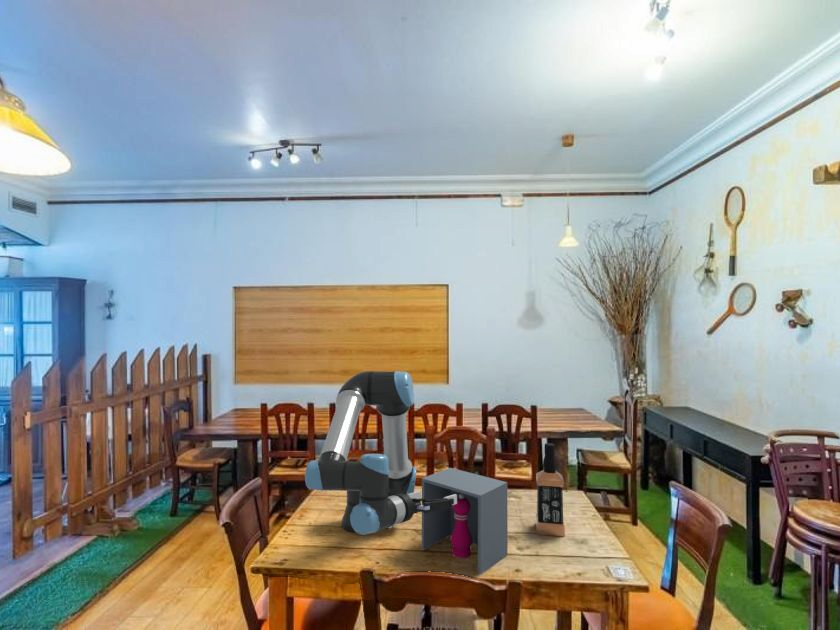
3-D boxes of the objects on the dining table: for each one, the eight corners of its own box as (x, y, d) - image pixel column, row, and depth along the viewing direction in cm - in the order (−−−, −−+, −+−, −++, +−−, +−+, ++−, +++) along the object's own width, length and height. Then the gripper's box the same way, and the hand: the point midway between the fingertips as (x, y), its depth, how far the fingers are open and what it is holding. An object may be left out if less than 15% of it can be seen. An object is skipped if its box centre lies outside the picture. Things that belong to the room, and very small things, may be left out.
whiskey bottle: (565, 537, 165) (564, 448, 166) (537, 534, 167) (536, 446, 168) (562, 524, 175) (561, 441, 176) (535, 522, 177) (535, 439, 178)
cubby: (421, 549, 155) (421, 478, 156) (450, 533, 167) (450, 467, 168) (480, 574, 139) (480, 495, 140) (507, 555, 151) (507, 482, 152)
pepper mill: (454, 560, 148) (455, 498, 148) (447, 550, 155) (447, 490, 155) (475, 557, 150) (475, 496, 150) (467, 547, 157) (467, 488, 157)
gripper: (363, 519, 134) (406, 506, 151) (433, 529, 120) (472, 513, 137) (363, 492, 136) (405, 482, 153) (432, 498, 122) (471, 487, 139)
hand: (437, 497), depth 145 cm, fingers open, 13 cm apart
